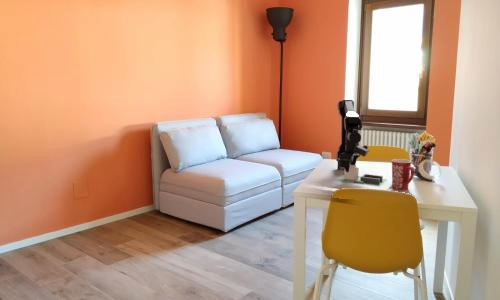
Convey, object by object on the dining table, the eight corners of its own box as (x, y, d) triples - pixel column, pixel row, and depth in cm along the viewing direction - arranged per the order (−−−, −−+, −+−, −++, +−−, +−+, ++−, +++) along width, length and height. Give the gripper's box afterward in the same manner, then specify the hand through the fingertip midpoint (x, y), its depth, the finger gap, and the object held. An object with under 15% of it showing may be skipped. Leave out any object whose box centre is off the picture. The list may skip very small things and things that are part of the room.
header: (360, 181, 203) (360, 177, 203) (364, 178, 210) (364, 173, 209) (378, 184, 199) (378, 179, 198) (382, 180, 205) (382, 176, 204)
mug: (386, 186, 200) (387, 159, 198) (401, 184, 203) (403, 158, 201) (402, 193, 189) (404, 164, 186) (419, 191, 191) (421, 163, 189)
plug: (338, 178, 211) (338, 164, 210) (340, 176, 214) (341, 163, 213) (356, 180, 206) (357, 166, 205) (358, 178, 209) (359, 165, 208)
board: (337, 183, 205) (337, 179, 205) (347, 177, 219) (347, 173, 218) (379, 189, 195) (379, 185, 194) (387, 182, 208) (387, 177, 208)
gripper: (362, 144, 194) (360, 176, 197) (372, 139, 210) (370, 168, 213) (339, 142, 200) (338, 173, 203) (351, 137, 216) (350, 166, 218)
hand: (350, 170), depth 209 cm, fingers open, 9 cm apart
